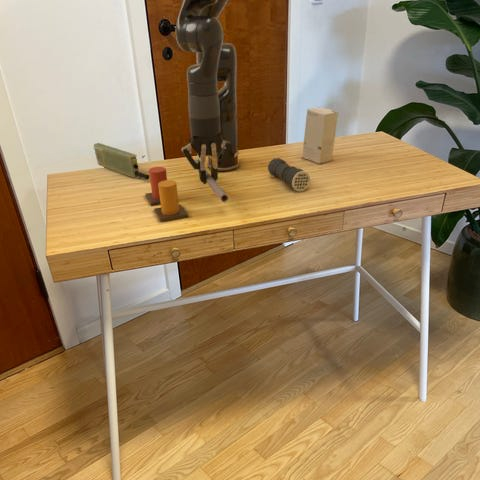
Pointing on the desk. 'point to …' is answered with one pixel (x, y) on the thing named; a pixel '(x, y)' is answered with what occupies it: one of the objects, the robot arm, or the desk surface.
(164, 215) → the ochre post
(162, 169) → the red peg stand
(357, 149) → the desk surface
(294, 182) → the flashlight
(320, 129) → the pale wooden block
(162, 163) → the desk surface
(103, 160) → the handheld radio
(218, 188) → the metal rod
